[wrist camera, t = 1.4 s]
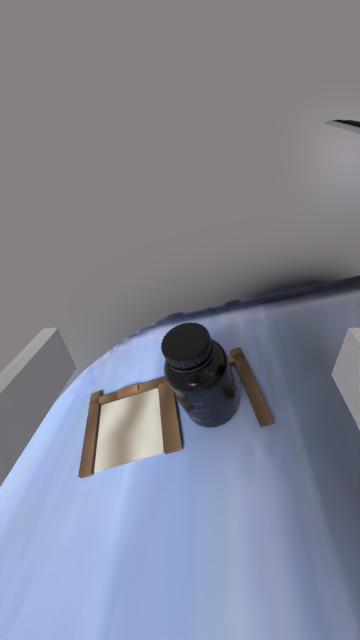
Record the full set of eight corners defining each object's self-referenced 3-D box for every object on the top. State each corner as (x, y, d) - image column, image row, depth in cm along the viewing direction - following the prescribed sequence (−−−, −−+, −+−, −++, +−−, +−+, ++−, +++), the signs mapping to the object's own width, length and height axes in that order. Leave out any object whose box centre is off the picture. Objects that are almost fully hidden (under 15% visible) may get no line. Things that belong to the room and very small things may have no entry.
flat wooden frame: (240, 349, 35) (239, 345, 34) (274, 423, 27) (274, 419, 26) (93, 395, 37) (90, 392, 36) (81, 477, 28) (76, 475, 28)
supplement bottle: (200, 372, 34) (174, 309, 26) (247, 388, 30) (233, 320, 23) (175, 416, 31) (137, 358, 23) (225, 440, 27) (200, 380, 19)
